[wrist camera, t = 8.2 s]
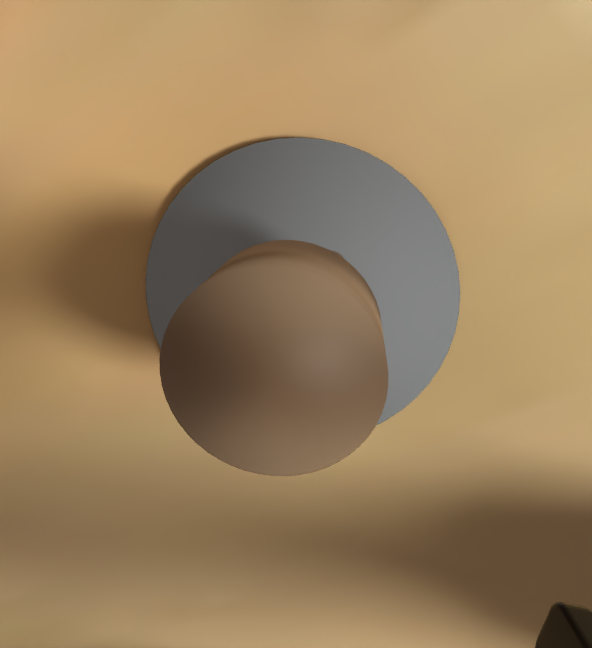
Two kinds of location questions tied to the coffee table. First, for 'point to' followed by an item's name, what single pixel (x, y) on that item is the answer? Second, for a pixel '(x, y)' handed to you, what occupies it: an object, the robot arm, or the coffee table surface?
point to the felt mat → (319, 242)
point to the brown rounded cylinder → (277, 360)
